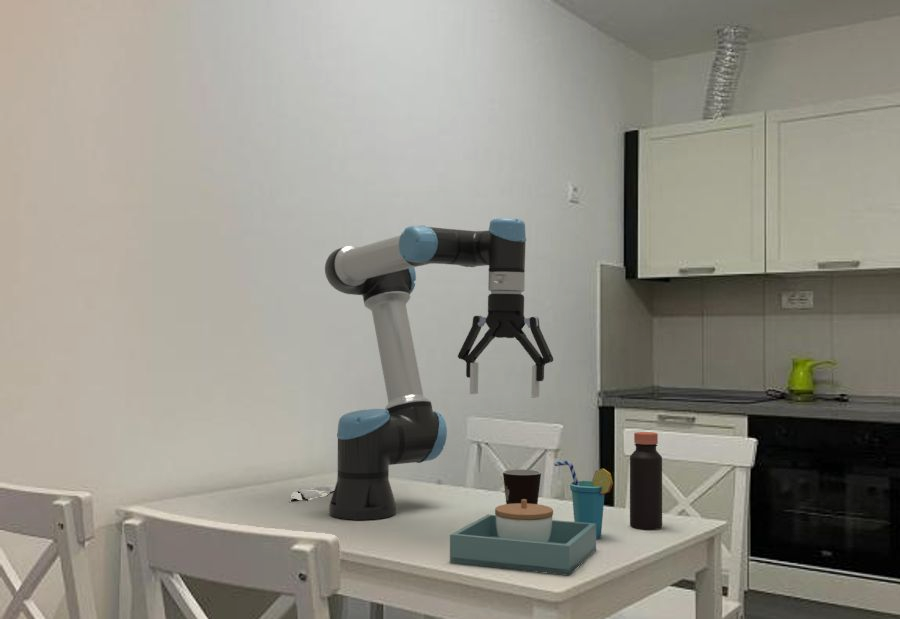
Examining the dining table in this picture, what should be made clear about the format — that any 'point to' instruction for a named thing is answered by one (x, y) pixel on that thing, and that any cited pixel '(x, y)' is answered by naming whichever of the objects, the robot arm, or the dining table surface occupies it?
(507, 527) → the lidded jar
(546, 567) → the tote
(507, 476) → the coffee mug
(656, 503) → the bottle
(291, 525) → the dining table surface
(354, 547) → the dining table surface
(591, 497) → the cup
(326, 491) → the cloth
